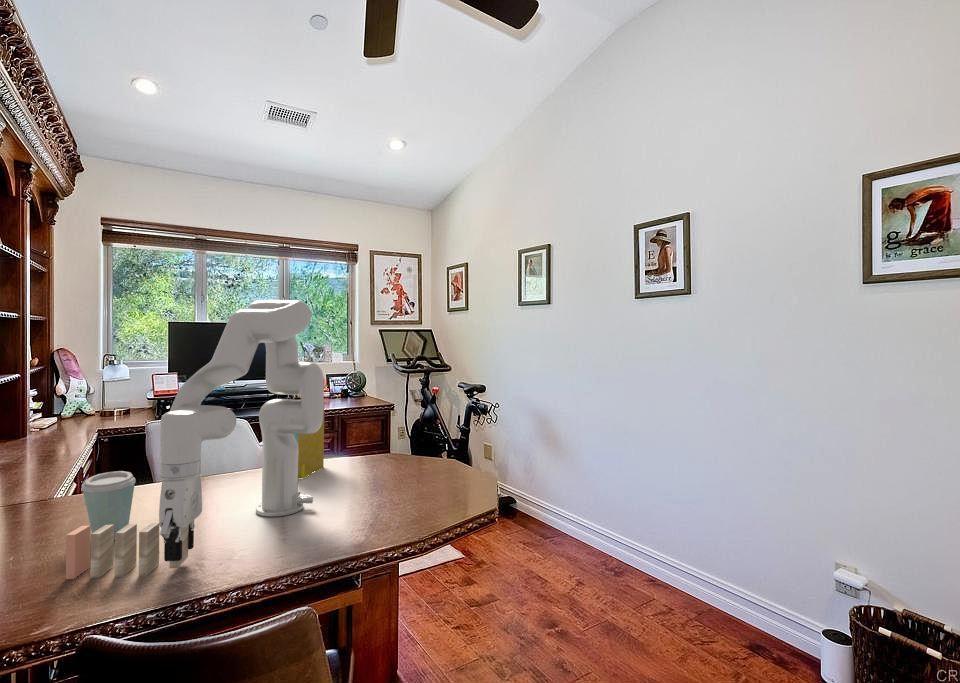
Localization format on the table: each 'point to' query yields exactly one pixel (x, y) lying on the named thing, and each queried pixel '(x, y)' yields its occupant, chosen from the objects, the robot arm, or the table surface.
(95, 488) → the disposable coffee cup
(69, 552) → the domino
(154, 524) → the domino
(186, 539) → the domino
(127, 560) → the domino
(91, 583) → the table surface
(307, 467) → the book
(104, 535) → the domino
